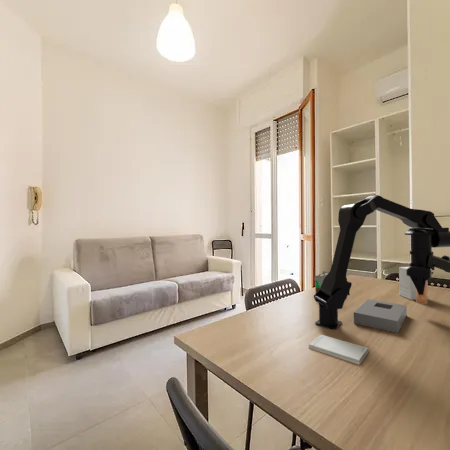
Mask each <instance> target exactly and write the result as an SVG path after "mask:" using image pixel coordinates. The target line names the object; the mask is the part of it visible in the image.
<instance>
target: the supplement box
mask: <svg viewBox="0 0 450 450" xmlns="http://www.w3.org/2000/svg"><path fill="white" fill-rule="evenodd" d="M409 267H410V266H399V267H398V277H399V278H398V279H399V280H398V282H399V286H398V287H399V291H398V292H399V296H402V297H403V298H406V299H408V300H411V301H412V300H415V301H416V287H415V285H414V283H413V282H412V280H411V278H410V276H407V271H406V270H407V269H408V268H409ZM428 284H429V283H428V281H427V300H428V299H429V298H428V297H429V294H428V292H429V289H428Z"/></svg>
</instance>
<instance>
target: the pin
mask: <svg viewBox="0 0 450 450" xmlns="http://www.w3.org/2000/svg"><path fill="white" fill-rule="evenodd" d="M427 282H428V280H426V284H425V289H424V293H423V295H419V293H418V291H417V289H416V300H415V301H416V303H417V304H421V305H422V304H423V305H426V304H428V299H427Z"/></svg>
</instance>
